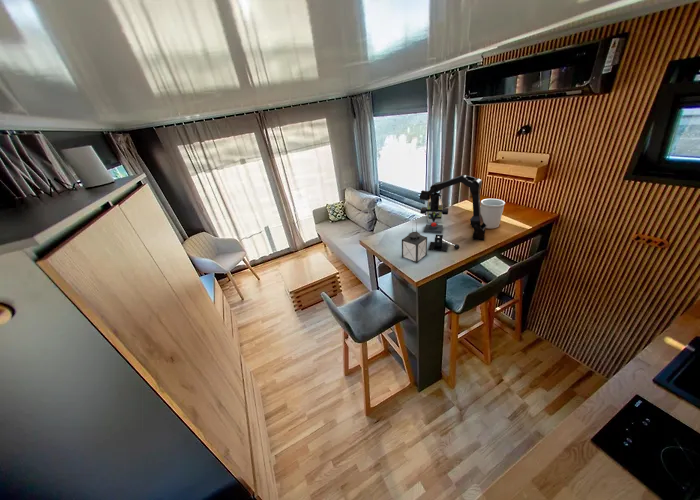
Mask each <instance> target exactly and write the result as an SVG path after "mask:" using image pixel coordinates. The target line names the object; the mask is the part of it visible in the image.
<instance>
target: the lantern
mask: <svg viewBox="0 0 700 500" xmlns="http://www.w3.org/2000/svg"><path fill="white" fill-rule="evenodd" d="M412 217H414V219H415V220H417V219H416V217H415V215H414V214H413V216H412ZM415 224H416V225H415V227H416V228H415V231H414V229H412V231H411V232H409V233H408V234H407V236H405V237H403V238H401V258H402V259H406V260H409V261H411V262H413V263H415V264H418V263H419V261H421V260H422V259H424V258H425V257H426V256H427V253H428V236H424V235H422V234H421V233H420V232H418V231H417V229H418V228H417V225H418V224H417V223H415Z"/></svg>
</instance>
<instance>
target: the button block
mask: <svg viewBox="0 0 700 500" xmlns="http://www.w3.org/2000/svg"><path fill="white" fill-rule="evenodd" d="M443 228H444V225H443V224H438V223H436V226H435V227H433V226H431V223H426V224H425V227H424V229H423V232H424V233H430V234H442V232H443Z"/></svg>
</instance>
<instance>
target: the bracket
mask: <svg viewBox="0 0 700 500" xmlns="http://www.w3.org/2000/svg"><path fill="white" fill-rule="evenodd" d="M437 236H439V237H442V238H437ZM442 239H443V240H444V235H443V234H435V237H434V241H430V242H429V246H428V251H432V252H433V251H434V252H441V253H442V252H444V253H447V251H448V245H449V244H447V243H444V242H442Z"/></svg>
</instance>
